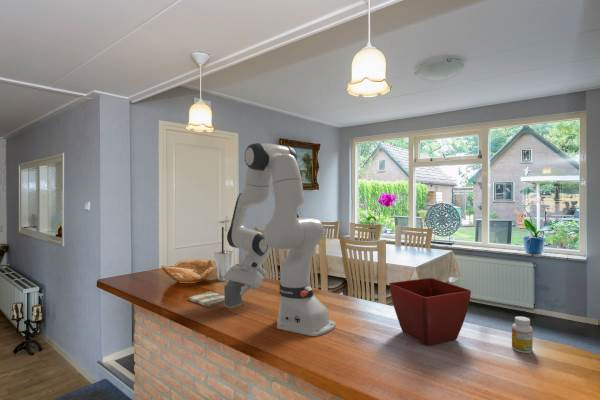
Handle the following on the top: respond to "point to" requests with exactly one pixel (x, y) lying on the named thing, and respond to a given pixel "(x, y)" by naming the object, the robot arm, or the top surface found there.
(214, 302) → the board
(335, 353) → the top surface
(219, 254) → the toilet brush holder
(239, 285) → the block
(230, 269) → the robot arm
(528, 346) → the supplement bottle
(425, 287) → the plant pot
